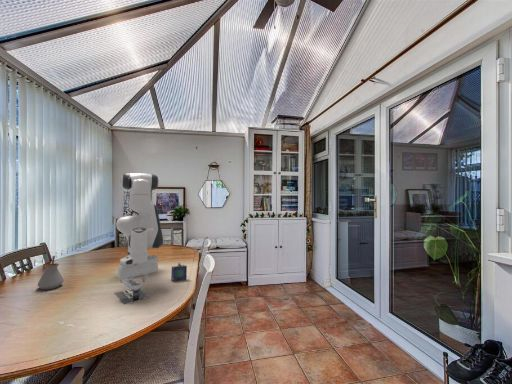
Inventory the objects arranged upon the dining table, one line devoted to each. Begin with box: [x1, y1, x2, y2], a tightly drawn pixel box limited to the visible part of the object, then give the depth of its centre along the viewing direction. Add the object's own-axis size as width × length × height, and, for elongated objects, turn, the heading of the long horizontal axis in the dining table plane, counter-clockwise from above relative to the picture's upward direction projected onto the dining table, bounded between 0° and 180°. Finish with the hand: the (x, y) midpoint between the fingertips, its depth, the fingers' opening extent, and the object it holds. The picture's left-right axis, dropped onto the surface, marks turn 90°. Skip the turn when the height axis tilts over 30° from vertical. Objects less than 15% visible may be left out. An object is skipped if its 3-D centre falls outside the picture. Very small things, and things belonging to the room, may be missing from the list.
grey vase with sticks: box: [37, 255, 64, 291], centre depth 143 cm, size 21×12×15 cm, turn 36°
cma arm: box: [118, 278, 142, 292], centre depth 127 cm, size 20×4×3 cm, turn 50°
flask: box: [170, 262, 188, 282], centre depth 153 cm, size 9×3×11 cm, turn 109°
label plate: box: [122, 288, 133, 295], centre depth 130 cm, size 5×5×1 cm
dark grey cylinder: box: [133, 291, 140, 302], centre depth 122 cm, size 3×3×4 cm
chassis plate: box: [114, 288, 150, 305], centre depth 127 cm, size 18×12×1 cm, turn 44°
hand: (138, 283), depth 131 cm, fingers open, 4 cm apart
